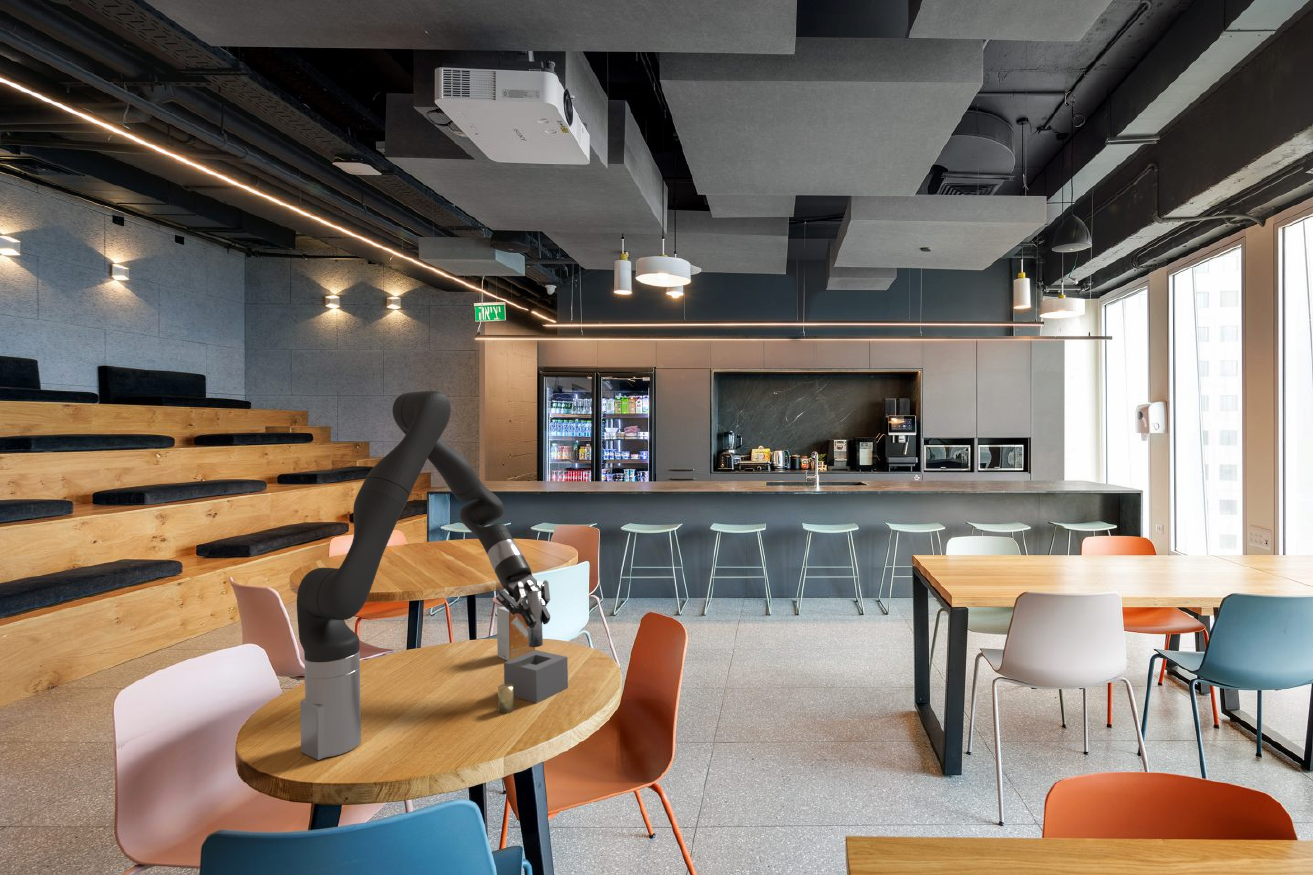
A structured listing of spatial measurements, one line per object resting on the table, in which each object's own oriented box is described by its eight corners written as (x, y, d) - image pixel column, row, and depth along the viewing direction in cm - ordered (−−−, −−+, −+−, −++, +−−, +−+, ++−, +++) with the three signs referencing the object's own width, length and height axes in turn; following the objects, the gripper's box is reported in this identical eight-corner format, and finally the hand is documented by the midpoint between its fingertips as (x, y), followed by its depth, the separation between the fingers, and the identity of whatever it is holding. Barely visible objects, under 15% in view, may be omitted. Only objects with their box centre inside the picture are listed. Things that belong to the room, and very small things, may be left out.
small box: (509, 662, 162) (508, 611, 162) (497, 656, 167) (496, 607, 167) (536, 654, 168) (535, 605, 168) (523, 649, 172) (522, 601, 172)
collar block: (536, 702, 135) (536, 670, 136) (504, 693, 141) (503, 662, 141) (568, 687, 144) (567, 656, 144) (536, 679, 149) (535, 649, 149)
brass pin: (505, 714, 130) (505, 690, 130) (495, 711, 132) (494, 687, 132) (517, 709, 133) (516, 685, 133) (506, 706, 134) (506, 682, 134)
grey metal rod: (535, 647, 140) (534, 594, 140) (525, 645, 142) (524, 592, 142) (545, 643, 143) (544, 591, 143) (535, 641, 145) (534, 589, 145)
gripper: (488, 557, 143) (520, 621, 134) (539, 549, 153) (572, 607, 144) (476, 578, 146) (507, 641, 138) (527, 568, 157) (558, 626, 148)
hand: (540, 623), depth 141 cm, fingers closed on grey metal rod, 3 cm apart
